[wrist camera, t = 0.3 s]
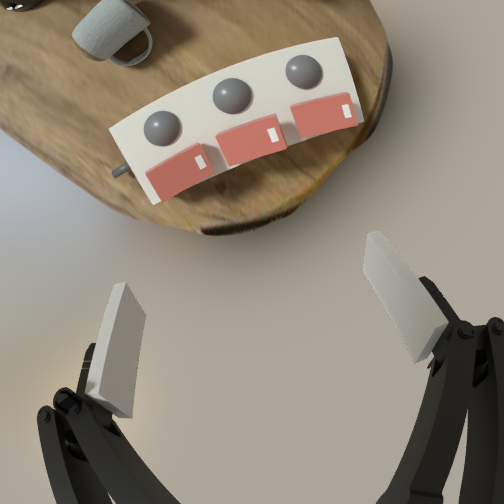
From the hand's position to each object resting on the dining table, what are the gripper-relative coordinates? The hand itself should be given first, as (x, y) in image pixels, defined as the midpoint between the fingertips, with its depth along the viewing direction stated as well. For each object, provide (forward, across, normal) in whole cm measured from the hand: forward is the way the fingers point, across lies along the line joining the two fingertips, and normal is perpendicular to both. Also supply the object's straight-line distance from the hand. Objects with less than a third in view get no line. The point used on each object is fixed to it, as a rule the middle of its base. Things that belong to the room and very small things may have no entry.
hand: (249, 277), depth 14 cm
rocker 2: (+20, +3, +2) cm, 20 cm away
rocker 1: (+20, -6, 0) cm, 21 cm away
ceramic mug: (+28, -10, +20) cm, 36 cm away
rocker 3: (+20, +12, +4) cm, 23 cm away
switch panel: (+27, 0, +4) cm, 27 cm away
